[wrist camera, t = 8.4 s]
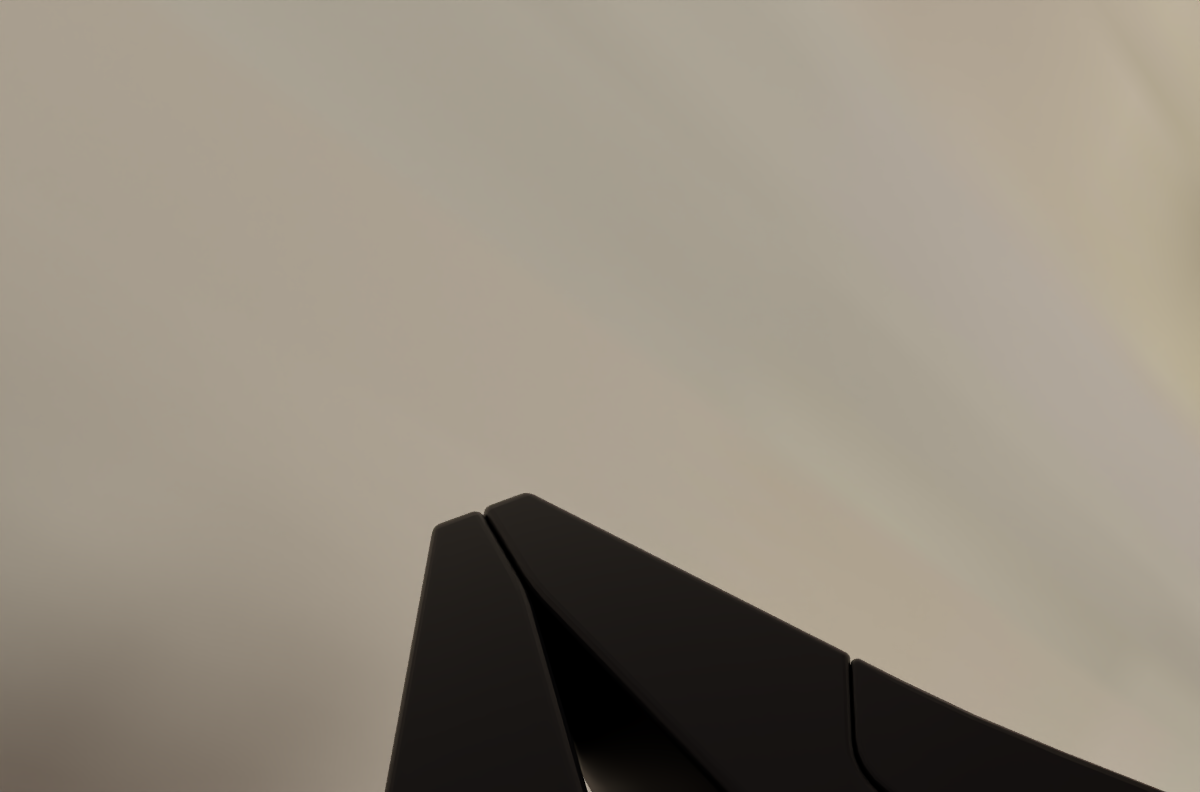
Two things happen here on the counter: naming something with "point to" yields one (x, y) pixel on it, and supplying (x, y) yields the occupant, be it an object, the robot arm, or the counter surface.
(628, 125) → the counter surface
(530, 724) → the robot arm
